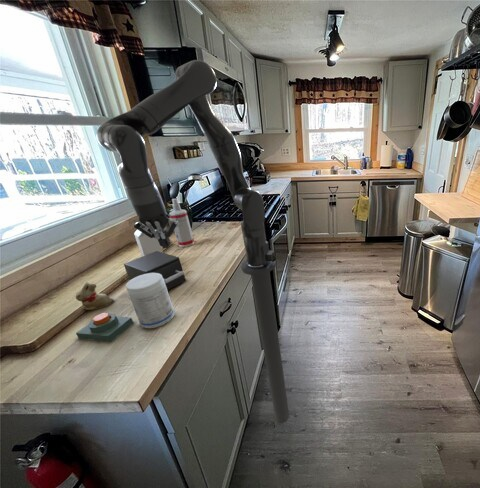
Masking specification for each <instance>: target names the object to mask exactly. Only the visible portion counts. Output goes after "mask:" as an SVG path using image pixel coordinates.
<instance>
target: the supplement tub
mask: <svg viewBox="0 0 480 488" xmlns="http://www.w3.org/2000/svg"><path fill="white" fill-rule="evenodd" d="M125 289H126V292H127V296H128V298H129V300H130V302H131V305H132V308H133V310H134V312H135V315H136V317H137V320H138V322H139V325H140V326H141V327H142V328H145V329H155V328H159V327H161V326H164V325H166V324H167V323H169V322H170V321H171V320H172V319H173V317H174V315H175V310H174V306H173V304H172V301H171V297H170V294H169V292H168V291H169V290H167V288H166V285H165V282H164V279H163V277H162V275H161V274H159V273H148V274H143V275H140V276H137V277H135V278H133V279H131V280H130V279H129V280H128V281H127V283H126V284H125Z"/></svg>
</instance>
